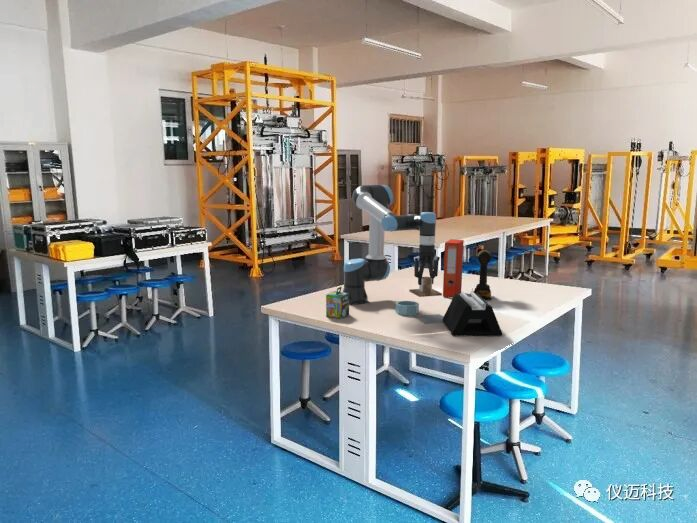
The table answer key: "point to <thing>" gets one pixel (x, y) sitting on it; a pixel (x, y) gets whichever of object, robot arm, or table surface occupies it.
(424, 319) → the mat
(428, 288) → the lid
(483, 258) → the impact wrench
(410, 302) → the bowl
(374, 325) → the table surface
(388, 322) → the table surface
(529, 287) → the table surface
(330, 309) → the chalk box
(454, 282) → the file binder
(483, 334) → the device stand
